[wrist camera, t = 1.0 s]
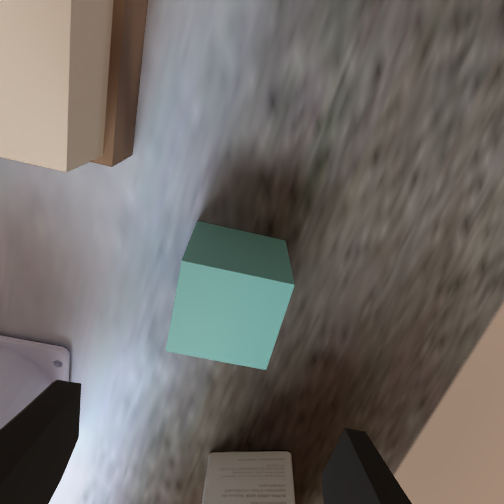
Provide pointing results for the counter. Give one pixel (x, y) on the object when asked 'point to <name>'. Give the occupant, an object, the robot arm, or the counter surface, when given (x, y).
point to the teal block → (230, 296)
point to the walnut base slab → (123, 80)
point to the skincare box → (249, 478)
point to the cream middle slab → (54, 80)
